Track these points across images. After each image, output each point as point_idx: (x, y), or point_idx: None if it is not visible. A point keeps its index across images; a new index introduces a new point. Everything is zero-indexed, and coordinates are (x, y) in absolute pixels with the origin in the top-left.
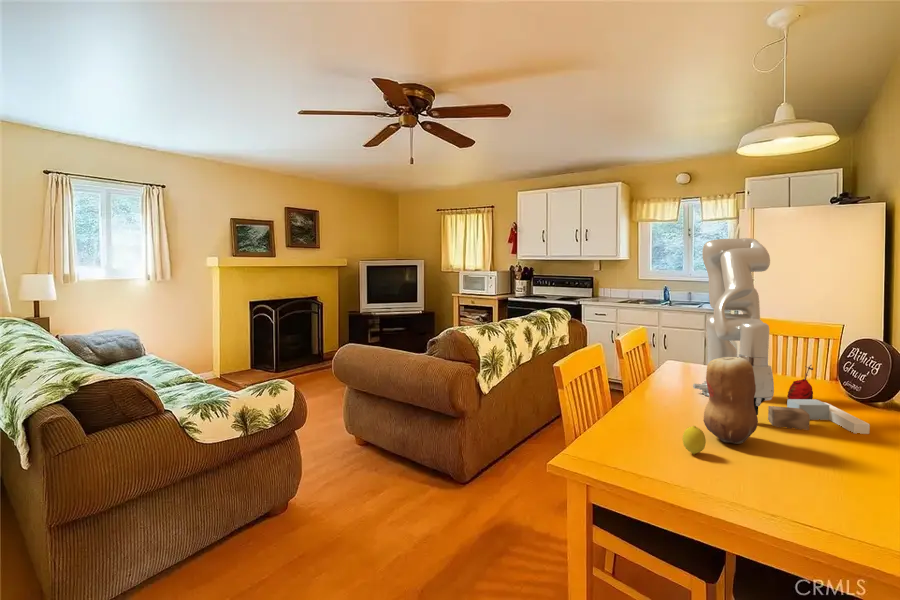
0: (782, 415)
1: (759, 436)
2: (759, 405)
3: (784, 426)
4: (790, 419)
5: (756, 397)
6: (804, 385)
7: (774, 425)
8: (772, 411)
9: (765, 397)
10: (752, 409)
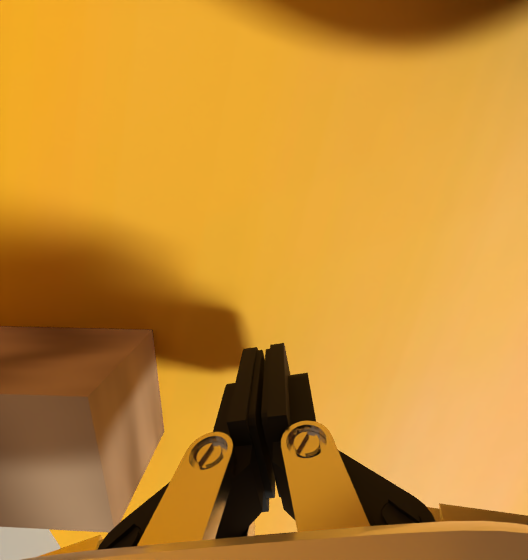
0: (45, 377)
1: (283, 86)
2: (196, 444)
3: (90, 331)
4: (14, 359)
5: (219, 539)
6: None
7: (144, 333)
8: (105, 430)
9: (43, 558)
10: None
